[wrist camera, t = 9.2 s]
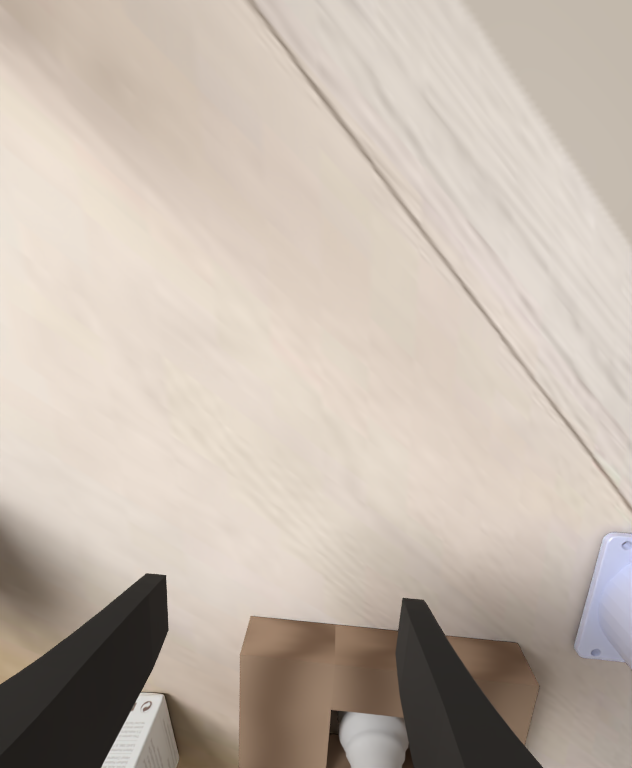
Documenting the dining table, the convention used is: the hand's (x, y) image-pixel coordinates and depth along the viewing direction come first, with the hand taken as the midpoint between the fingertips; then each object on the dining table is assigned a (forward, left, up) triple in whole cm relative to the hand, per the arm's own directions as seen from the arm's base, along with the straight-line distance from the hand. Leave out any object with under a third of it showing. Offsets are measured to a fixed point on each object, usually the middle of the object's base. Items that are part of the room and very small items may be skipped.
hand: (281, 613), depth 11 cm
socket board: (-5, +16, -9) cm, 19 cm away
